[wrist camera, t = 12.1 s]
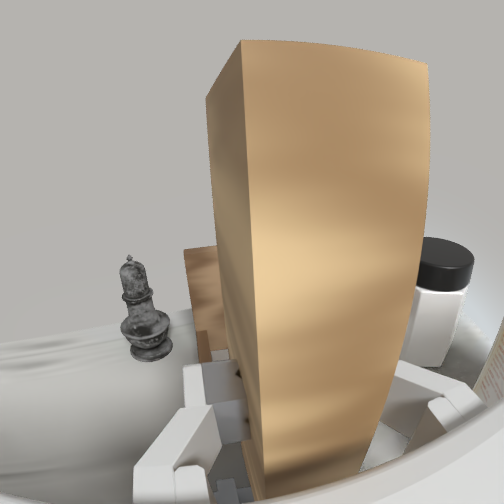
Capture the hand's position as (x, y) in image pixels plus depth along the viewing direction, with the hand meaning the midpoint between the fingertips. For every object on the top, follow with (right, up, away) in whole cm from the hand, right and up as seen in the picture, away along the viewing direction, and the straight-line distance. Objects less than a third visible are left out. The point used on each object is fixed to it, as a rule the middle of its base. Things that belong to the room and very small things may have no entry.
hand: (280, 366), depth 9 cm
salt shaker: (-13, -8, +27) cm, 31 cm away
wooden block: (0, -8, +3) cm, 9 cm away
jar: (+18, -8, +24) cm, 31 cm away
